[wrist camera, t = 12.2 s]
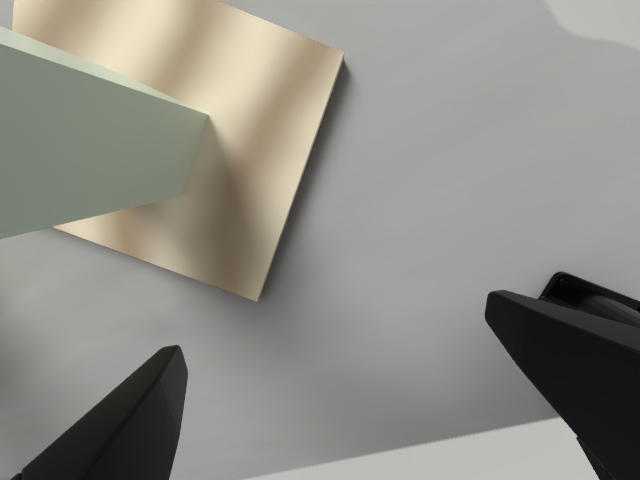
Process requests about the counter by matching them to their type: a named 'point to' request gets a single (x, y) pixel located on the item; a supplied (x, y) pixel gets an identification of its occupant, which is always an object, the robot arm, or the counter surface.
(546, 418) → the counter surface
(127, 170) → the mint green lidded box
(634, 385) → the robot arm
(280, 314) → the counter surface
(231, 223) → the post base
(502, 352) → the counter surface
